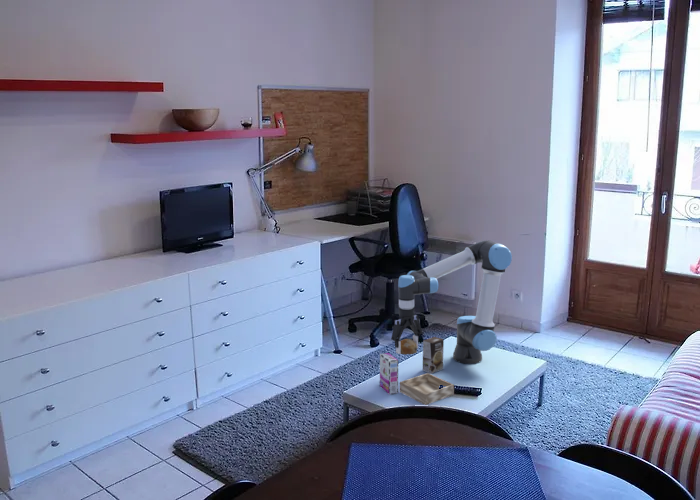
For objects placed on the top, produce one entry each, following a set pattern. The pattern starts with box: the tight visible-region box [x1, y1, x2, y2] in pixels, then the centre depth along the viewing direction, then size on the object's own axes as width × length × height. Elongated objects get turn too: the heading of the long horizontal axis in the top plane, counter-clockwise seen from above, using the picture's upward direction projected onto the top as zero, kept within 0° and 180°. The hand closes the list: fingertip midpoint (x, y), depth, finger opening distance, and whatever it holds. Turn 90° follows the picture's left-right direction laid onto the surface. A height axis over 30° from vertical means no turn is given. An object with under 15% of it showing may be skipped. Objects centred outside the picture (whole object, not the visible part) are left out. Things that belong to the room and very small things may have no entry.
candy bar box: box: [379, 352, 399, 396], centre depth 289 cm, size 11×5×16 cm, turn 21°
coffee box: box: [422, 336, 445, 375], centre depth 312 cm, size 9×6×16 cm
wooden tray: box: [399, 372, 455, 406], centre depth 285 cm, size 18×18×5 cm
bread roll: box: [400, 338, 418, 356], centre depth 301 cm, size 10×10×8 cm
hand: (406, 350), depth 302 cm, fingers closed on bread roll, 10 cm apart
